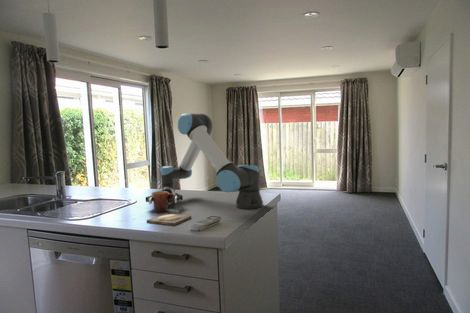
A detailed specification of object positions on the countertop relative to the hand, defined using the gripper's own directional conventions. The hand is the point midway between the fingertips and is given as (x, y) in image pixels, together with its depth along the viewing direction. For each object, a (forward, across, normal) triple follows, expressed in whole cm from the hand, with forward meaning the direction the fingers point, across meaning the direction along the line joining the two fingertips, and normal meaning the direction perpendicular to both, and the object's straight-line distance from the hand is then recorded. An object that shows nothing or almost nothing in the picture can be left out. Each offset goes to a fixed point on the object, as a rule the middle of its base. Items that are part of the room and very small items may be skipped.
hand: (162, 201), depth 177 cm
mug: (-3, 0, -6) cm, 7 cm away
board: (+18, -5, -6) cm, 19 cm away
